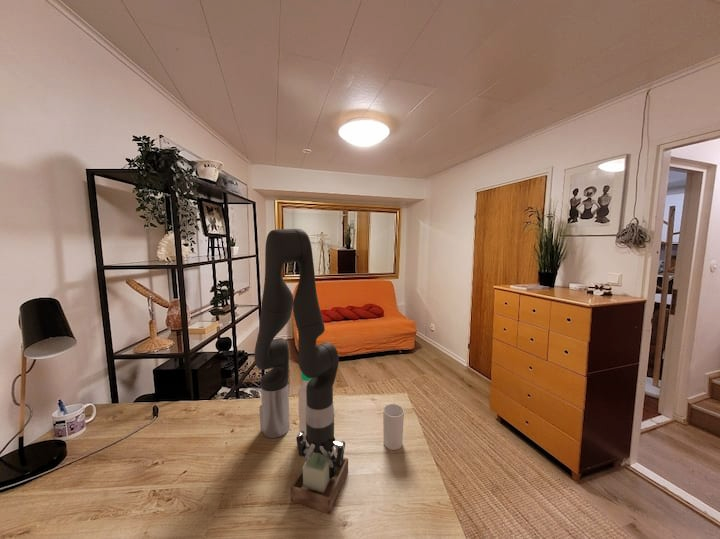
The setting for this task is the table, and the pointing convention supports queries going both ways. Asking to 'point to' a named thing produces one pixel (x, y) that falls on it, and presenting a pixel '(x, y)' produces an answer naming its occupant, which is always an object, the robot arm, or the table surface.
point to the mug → (393, 426)
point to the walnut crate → (318, 499)
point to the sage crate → (316, 472)
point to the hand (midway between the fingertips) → (321, 472)
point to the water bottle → (303, 404)
